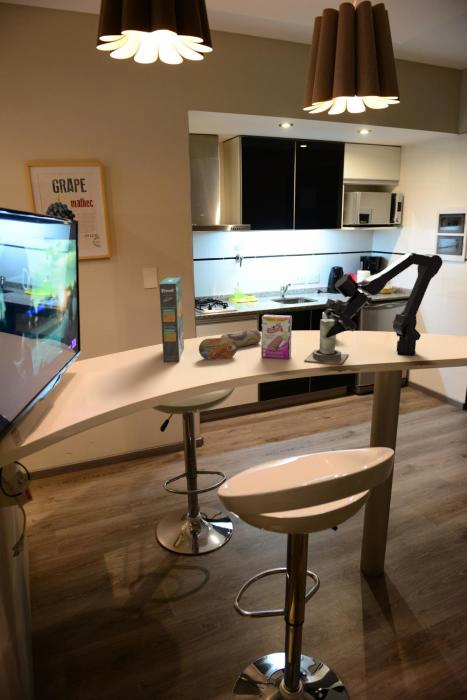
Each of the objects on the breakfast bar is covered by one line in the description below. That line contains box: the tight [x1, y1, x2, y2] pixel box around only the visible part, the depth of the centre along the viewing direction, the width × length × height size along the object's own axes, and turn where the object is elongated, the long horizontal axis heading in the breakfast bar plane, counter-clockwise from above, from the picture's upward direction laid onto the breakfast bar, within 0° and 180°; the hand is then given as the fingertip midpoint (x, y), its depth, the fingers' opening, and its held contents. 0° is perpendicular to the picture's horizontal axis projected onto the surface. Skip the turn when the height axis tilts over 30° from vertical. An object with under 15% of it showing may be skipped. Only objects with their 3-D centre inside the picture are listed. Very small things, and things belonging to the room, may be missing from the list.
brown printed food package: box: [198, 336, 238, 361], centre depth 179 cm, size 15×3×8 cm, turn 105°
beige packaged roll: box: [220, 328, 262, 348], centre depth 196 cm, size 26×8×7 cm, turn 126°
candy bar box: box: [260, 314, 293, 360], centre depth 179 cm, size 11×5×16 cm, turn 74°
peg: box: [319, 319, 336, 354], centre depth 175 cm, size 4×4×12 cm
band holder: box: [303, 348, 349, 366], centre depth 177 cm, size 14×14×3 cm
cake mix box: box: [158, 277, 185, 363], centre depth 183 cm, size 22×6×30 cm, turn 1°
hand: (324, 335), depth 175 cm, fingers closed on peg, 4 cm apart
